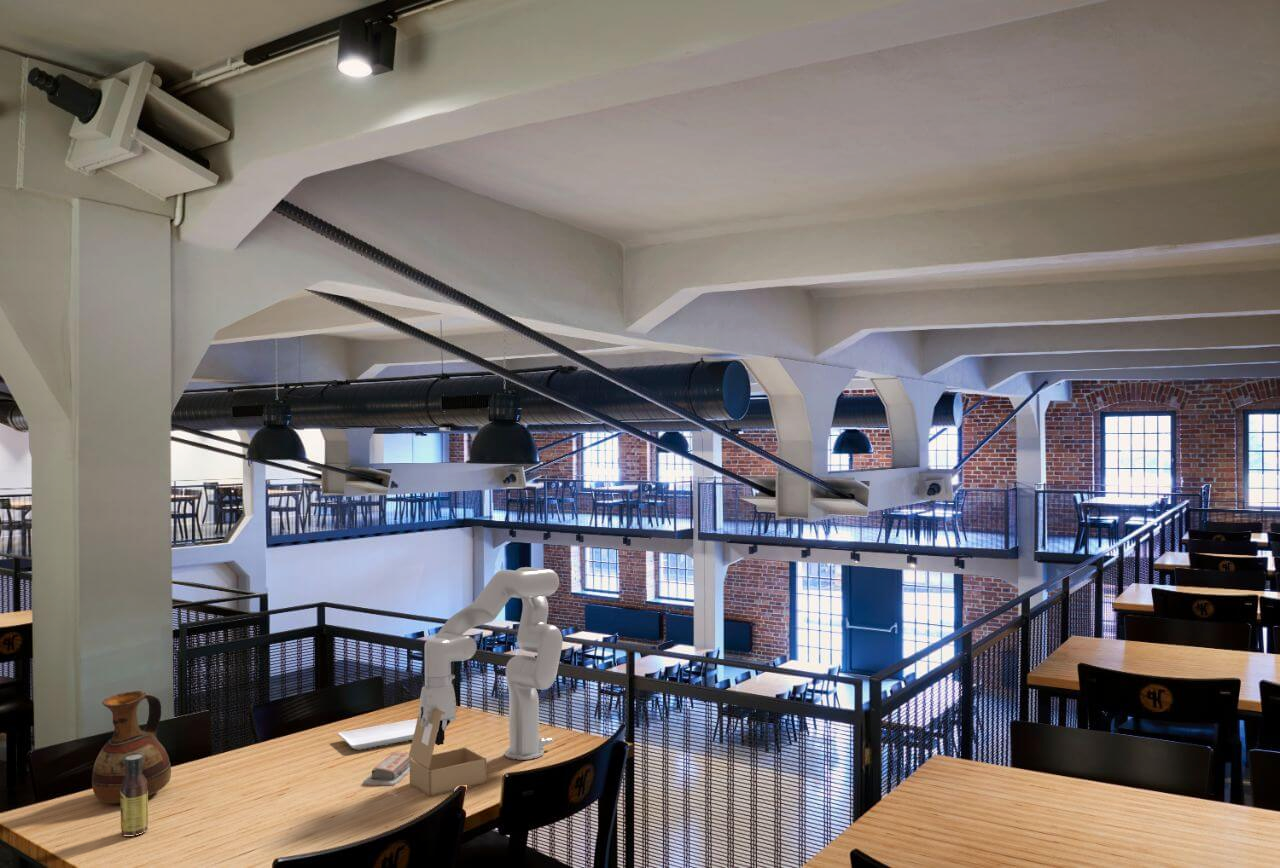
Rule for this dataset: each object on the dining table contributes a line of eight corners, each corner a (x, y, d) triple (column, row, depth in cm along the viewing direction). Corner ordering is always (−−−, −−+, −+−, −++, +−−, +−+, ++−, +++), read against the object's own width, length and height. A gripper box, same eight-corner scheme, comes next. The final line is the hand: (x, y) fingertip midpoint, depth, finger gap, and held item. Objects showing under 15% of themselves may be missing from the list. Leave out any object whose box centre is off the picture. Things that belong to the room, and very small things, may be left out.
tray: (442, 738, 321) (442, 728, 321) (351, 755, 304) (351, 744, 304) (424, 726, 335) (424, 717, 335) (336, 742, 318) (336, 732, 318)
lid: (426, 703, 279) (420, 703, 278) (446, 713, 268) (440, 712, 267) (414, 756, 276) (408, 756, 275) (433, 768, 266) (427, 768, 264)
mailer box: (465, 770, 286) (465, 747, 286) (486, 782, 275) (486, 758, 275) (409, 783, 276) (409, 759, 276) (429, 796, 264) (429, 771, 264)
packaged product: (387, 750, 293) (417, 751, 292) (387, 766, 293) (417, 767, 292) (362, 769, 275) (395, 770, 274) (362, 786, 275) (395, 787, 274)
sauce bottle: (127, 829, 244) (127, 752, 244) (152, 828, 244) (152, 751, 245) (115, 839, 237) (115, 760, 238) (141, 838, 238) (141, 759, 238)
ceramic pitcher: (75, 804, 262) (75, 697, 263) (136, 781, 281) (136, 681, 282) (127, 812, 255) (127, 703, 256) (186, 788, 274) (186, 685, 275)
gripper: (455, 674, 282) (456, 735, 281) (408, 682, 273) (409, 745, 272) (466, 679, 276) (467, 741, 275) (419, 687, 267) (420, 752, 266)
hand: (438, 743), depth 274 cm, fingers closed
